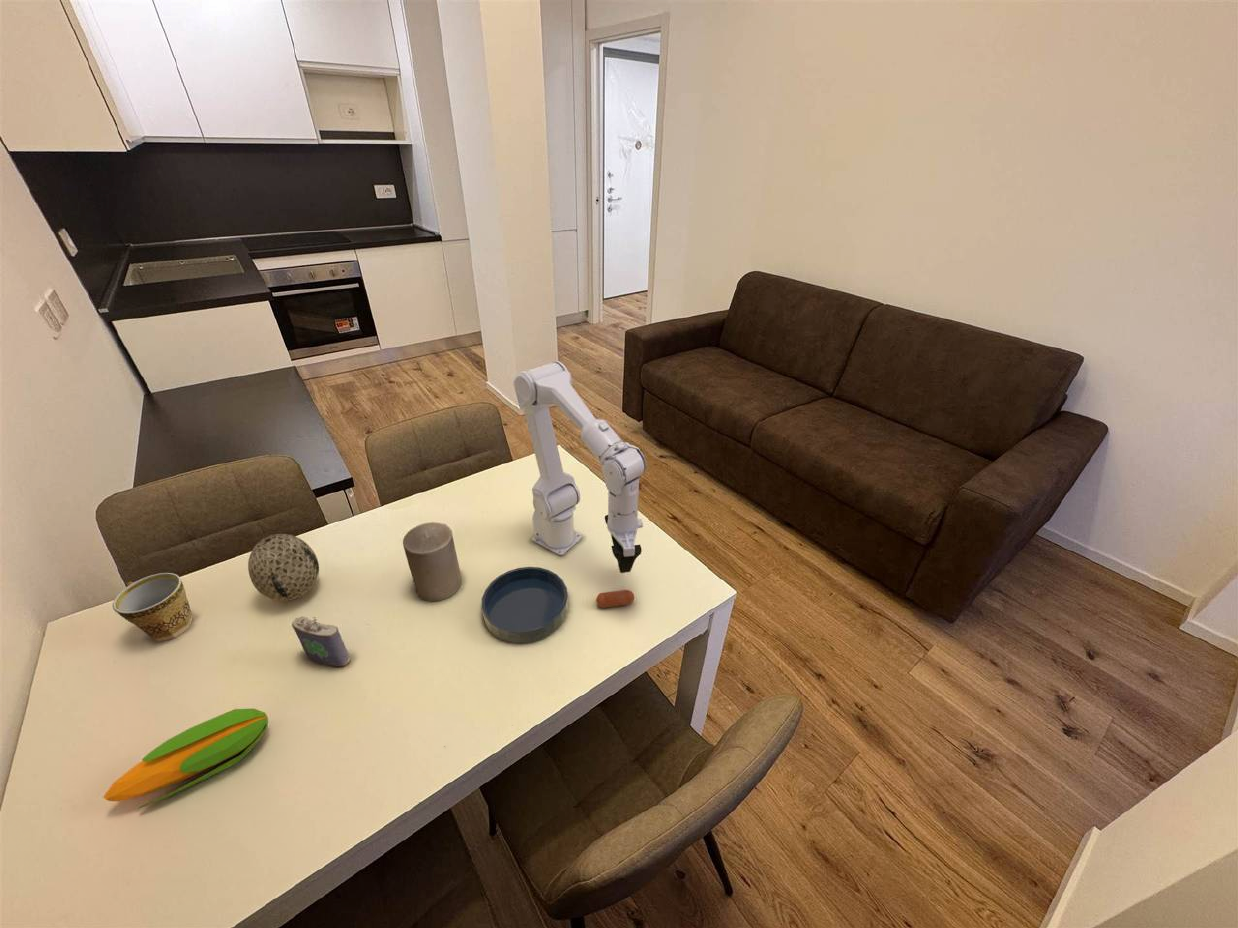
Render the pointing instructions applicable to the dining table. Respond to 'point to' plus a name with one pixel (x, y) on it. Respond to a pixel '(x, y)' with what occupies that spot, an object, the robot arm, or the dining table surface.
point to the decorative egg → (283, 567)
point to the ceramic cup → (156, 606)
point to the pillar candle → (432, 561)
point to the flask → (321, 642)
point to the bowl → (525, 605)
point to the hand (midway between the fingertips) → (621, 557)
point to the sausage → (615, 598)
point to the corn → (192, 754)
